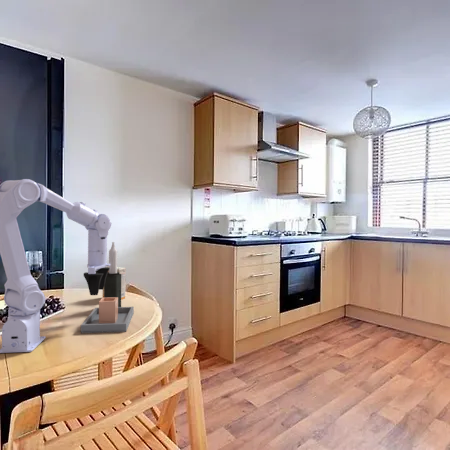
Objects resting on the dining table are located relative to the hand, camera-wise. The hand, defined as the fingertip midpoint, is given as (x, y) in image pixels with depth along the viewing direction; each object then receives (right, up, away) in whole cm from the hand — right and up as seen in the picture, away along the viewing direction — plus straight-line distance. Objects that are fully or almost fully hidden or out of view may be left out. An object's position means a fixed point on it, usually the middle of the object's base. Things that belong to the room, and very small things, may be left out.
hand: (97, 292), depth 106 cm
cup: (+4, -9, 0) cm, 10 cm away
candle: (0, -10, +16) cm, 19 cm away
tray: (+4, -10, 0) cm, 11 cm away
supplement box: (-5, -9, +29) cm, 31 cm away
